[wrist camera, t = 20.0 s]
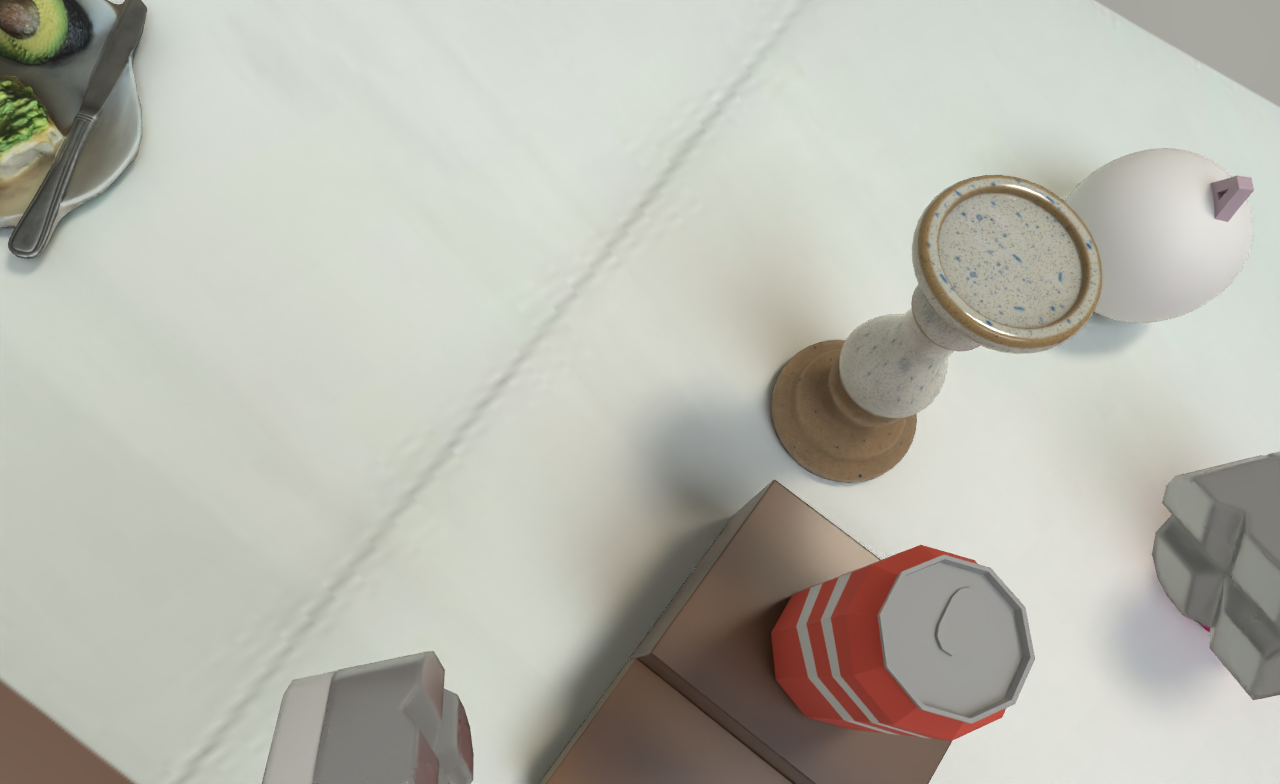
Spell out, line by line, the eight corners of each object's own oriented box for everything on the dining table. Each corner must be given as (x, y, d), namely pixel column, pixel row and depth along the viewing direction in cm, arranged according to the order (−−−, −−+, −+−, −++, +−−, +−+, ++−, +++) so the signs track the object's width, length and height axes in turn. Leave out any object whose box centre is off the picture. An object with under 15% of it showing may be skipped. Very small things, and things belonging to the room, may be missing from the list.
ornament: (1197, 322, 58) (1357, 233, 47) (1069, 364, 56) (1205, 281, 45) (1123, 192, 61) (1257, 78, 50) (998, 227, 59) (1109, 117, 48)
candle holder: (877, 510, 51) (1083, 402, 32) (745, 438, 52) (870, 289, 33) (931, 388, 54) (1147, 223, 35) (805, 321, 55) (952, 122, 36)
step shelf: (739, 964, 43) (791, 1030, 34) (532, 792, 44) (533, 814, 36) (921, 658, 49) (1003, 651, 40) (733, 515, 50) (774, 478, 42)
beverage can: (923, 630, 40) (1077, 605, 29) (860, 757, 38) (999, 783, 27) (811, 555, 41) (919, 502, 30) (742, 677, 39) (830, 670, 27)
